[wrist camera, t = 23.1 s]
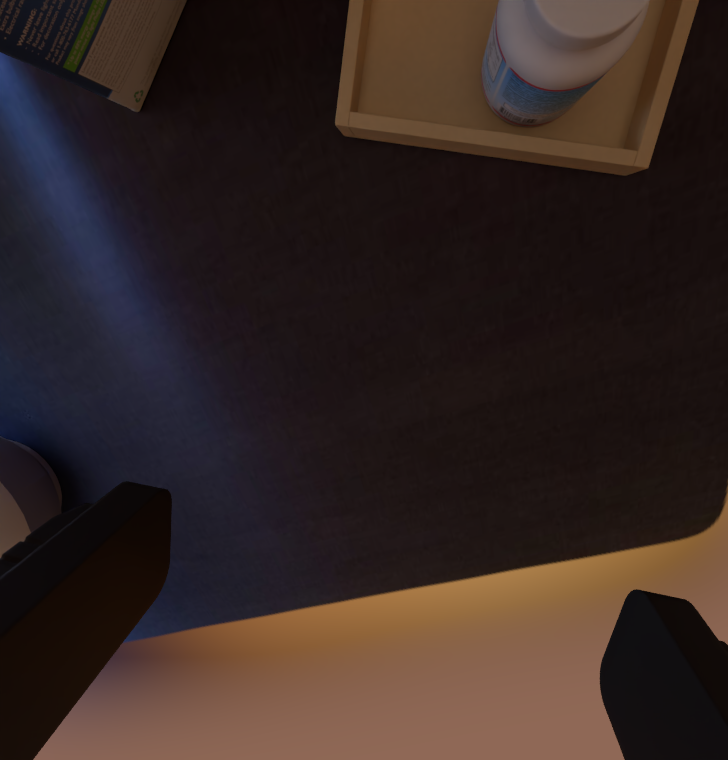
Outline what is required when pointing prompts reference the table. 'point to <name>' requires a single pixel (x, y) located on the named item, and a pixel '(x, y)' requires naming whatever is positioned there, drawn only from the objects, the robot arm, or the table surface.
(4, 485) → the bowl
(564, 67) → the pill bottle
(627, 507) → the table surface
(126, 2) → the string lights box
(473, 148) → the tray
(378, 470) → the table surface
